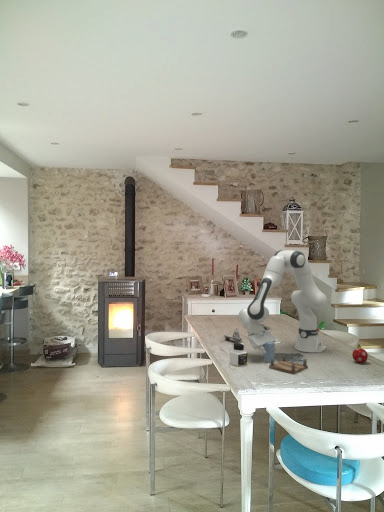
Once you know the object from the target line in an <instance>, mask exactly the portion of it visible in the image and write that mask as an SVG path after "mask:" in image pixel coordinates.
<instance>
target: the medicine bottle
mask: <svg viewBox="0 0 384 512" xmlns="http://www.w3.org/2000/svg"><path fill="white" fill-rule="evenodd" d="M229 364H231V365H233V366H235V367H242V366H243V367H244V366H247V365H248V351H245V344H244V343H242V342H240V343H233V350H232V351H230V352H229Z"/></svg>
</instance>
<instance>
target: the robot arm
mask: <svg viewBox="0 0 384 512" xmlns="http://www.w3.org/2000/svg"><path fill="white" fill-rule="evenodd" d="M289 268H290V269H291V268H292V271H293V276H294V281H295V283H296V286H297V287H298V288H299V289H300V290H294V291H292V294H291V297H290V300H291V303H292V304H293V305H294V306H295V308H296V311H297V312H298V317H299V318H298V319H299V324H298V326H299V327H298V334H297V335H296V340H295V342H296V343H295V345H294V348H295V349H296V350H297V351H300V352H303V353H323V352H324V350H326V349H327V346H325V345H323V343H324V342H323V338H322V337H321V336H320V334H319V332H320V328H318V319H317V318H318V317H317V316H316V314H315V313H314V312H313V310H312V309H315V310H318V309H324V308H326V306H327V304H328V297H327V295H326V294H325V293H323V291H321V290H320V288H319V287H318V286H317V284H316V283H315V280H314V276H313V273H312V269H311V265H310V262H309V260H308V258H307V257H306V256H305V254H304V252H301V251H299V250H294V249H293V250H292V249H289V250H286V249H285V250H284V249H281V250H278V251H276V252H275V253H274V255H273V256H271V257H270V259H269V261H268V263H267V265H266V268H265V270H264V273H263V274H262V275H263V276H262V279H261V282H260V283H259V286H258V289H257V291H256V293H255V296H254V297H253V300H252V301H251V302H250V304H249V305H248V306H247V307H244V308H241V310H240V311H239V312H238V317H237V318H238V319H239V321H240V323H241V325H242V326H243V328H244V329H245V330H246V331H247V332H246V333H247V338H248V341H249V344H250V345H251V346H252V348H253V349H255V350H257V349H259V351H261V352H262V353H263V355H264V354H265V353H267V351H266V349H264V345H265V343H266V342H273V343H275V342H276V338H275V336H274V335H273V334H272V332H271V331H270V330H269V328H268V327H267V326H263V325H261V324H260V323H263V322H264V321H266V320H267V319H268V318H269V317H270V311H269V308H268V307H266V306H265V303H266V299H267V297H268V295H269V292H270V291H271V290H272V289H274V288H277V287H278V286H279V285H280V283H281V281H282V278H283V275H284V271H285V269H289ZM276 350H277V348H276V347H275V351H276Z"/></svg>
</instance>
